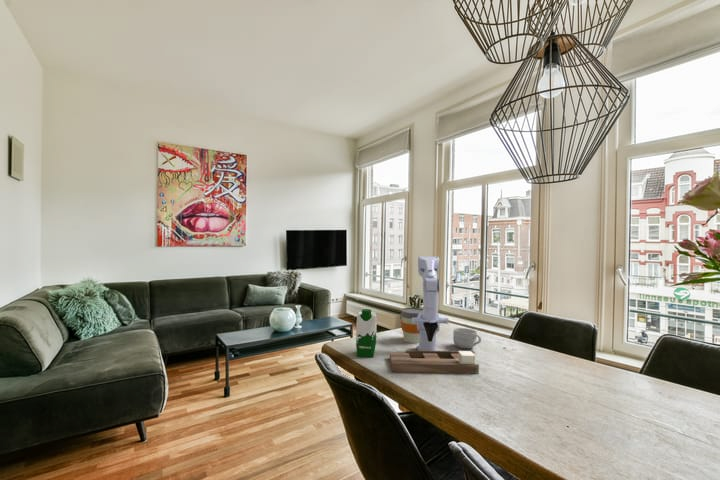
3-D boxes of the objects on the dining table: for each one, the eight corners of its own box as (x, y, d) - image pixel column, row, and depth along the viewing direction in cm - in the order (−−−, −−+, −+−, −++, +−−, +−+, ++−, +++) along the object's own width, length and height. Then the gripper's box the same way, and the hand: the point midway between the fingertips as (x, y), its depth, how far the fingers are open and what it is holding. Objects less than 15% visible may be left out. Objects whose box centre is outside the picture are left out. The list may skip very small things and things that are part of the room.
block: (458, 360, 133) (458, 350, 133) (470, 360, 133) (470, 351, 133) (461, 365, 128) (462, 355, 128) (474, 366, 128) (475, 355, 128)
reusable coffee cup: (411, 334, 175) (412, 306, 174) (430, 340, 165) (431, 311, 165) (394, 339, 167) (395, 309, 166) (413, 346, 157) (414, 314, 157)
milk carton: (354, 357, 141) (355, 310, 141) (357, 349, 150) (357, 306, 150) (375, 358, 141) (376, 311, 140) (376, 351, 150) (377, 307, 149)
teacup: (448, 344, 160) (448, 328, 160) (465, 341, 165) (465, 325, 164) (468, 354, 147) (469, 336, 147) (486, 351, 152) (487, 333, 152)
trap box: (388, 357, 142) (388, 350, 142) (465, 358, 142) (466, 351, 142) (392, 372, 127) (392, 363, 127) (478, 373, 127) (478, 365, 127)
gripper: (414, 309, 130) (414, 344, 130) (451, 310, 131) (450, 344, 131) (411, 305, 137) (410, 338, 138) (446, 306, 138) (445, 338, 138)
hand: (429, 340), depth 135 cm, fingers closed
